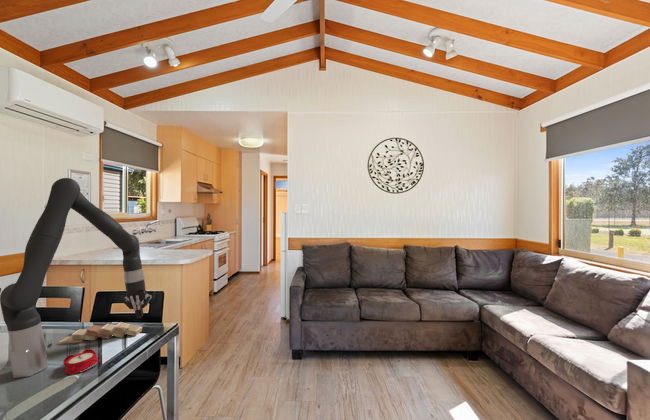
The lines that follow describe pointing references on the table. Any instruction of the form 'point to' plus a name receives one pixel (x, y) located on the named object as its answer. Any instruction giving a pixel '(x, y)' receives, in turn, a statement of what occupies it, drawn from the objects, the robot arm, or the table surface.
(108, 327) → the domino
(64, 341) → the domino
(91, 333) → the gap domino
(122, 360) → the table surface
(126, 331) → the domino
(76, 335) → the domino
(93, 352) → the alarm clock
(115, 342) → the table surface
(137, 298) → the robot arm
